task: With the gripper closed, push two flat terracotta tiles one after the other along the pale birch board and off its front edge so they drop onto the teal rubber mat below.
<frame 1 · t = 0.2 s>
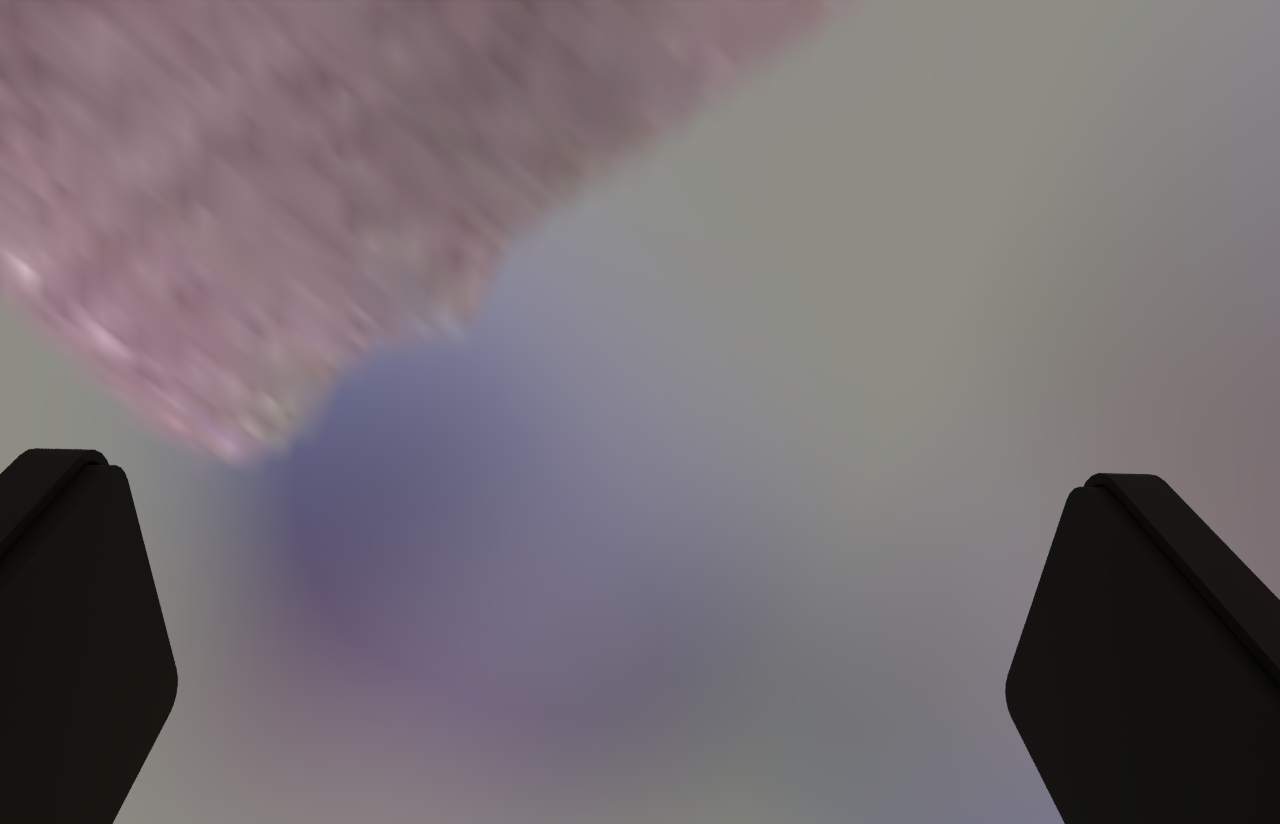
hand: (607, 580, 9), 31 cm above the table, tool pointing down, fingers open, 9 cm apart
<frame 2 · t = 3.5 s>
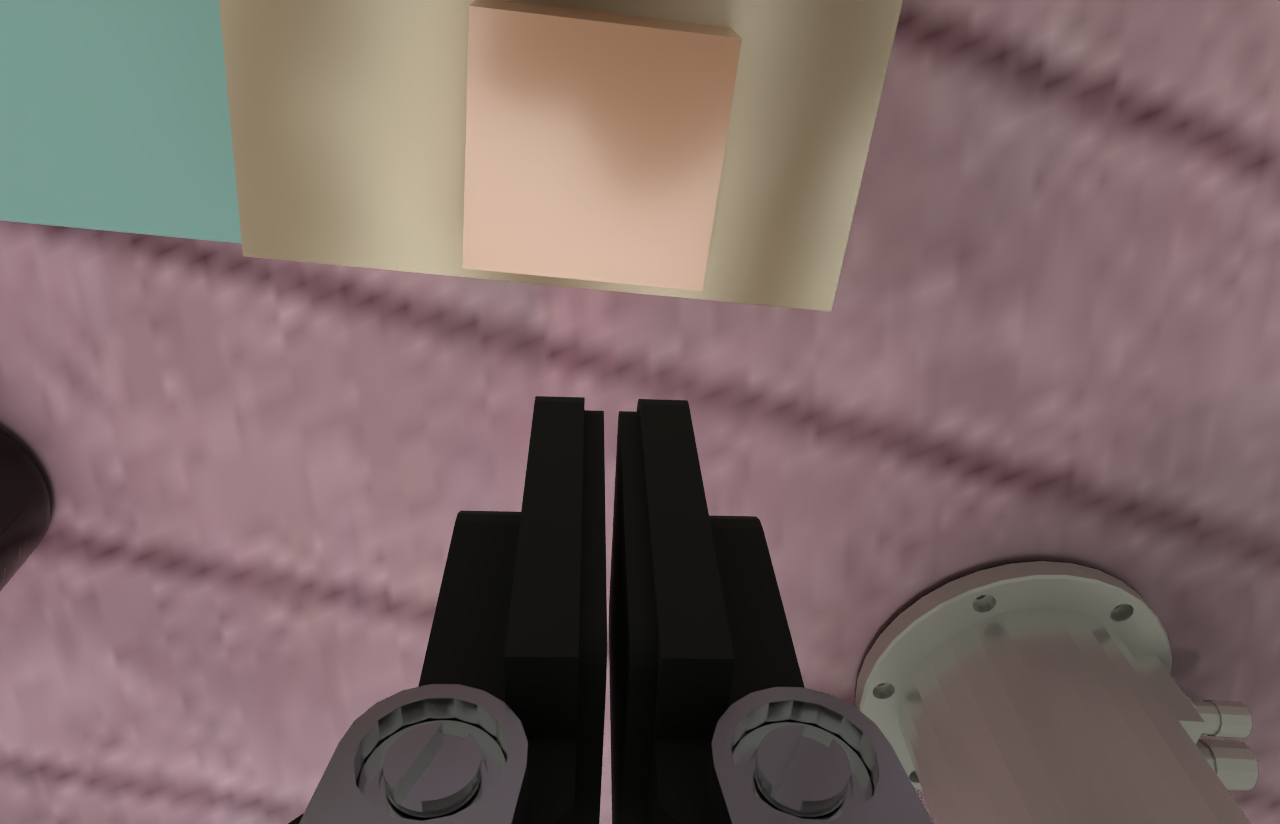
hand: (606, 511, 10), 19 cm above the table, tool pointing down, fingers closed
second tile: (595, 149, 23), point 5 cm above the table, touching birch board
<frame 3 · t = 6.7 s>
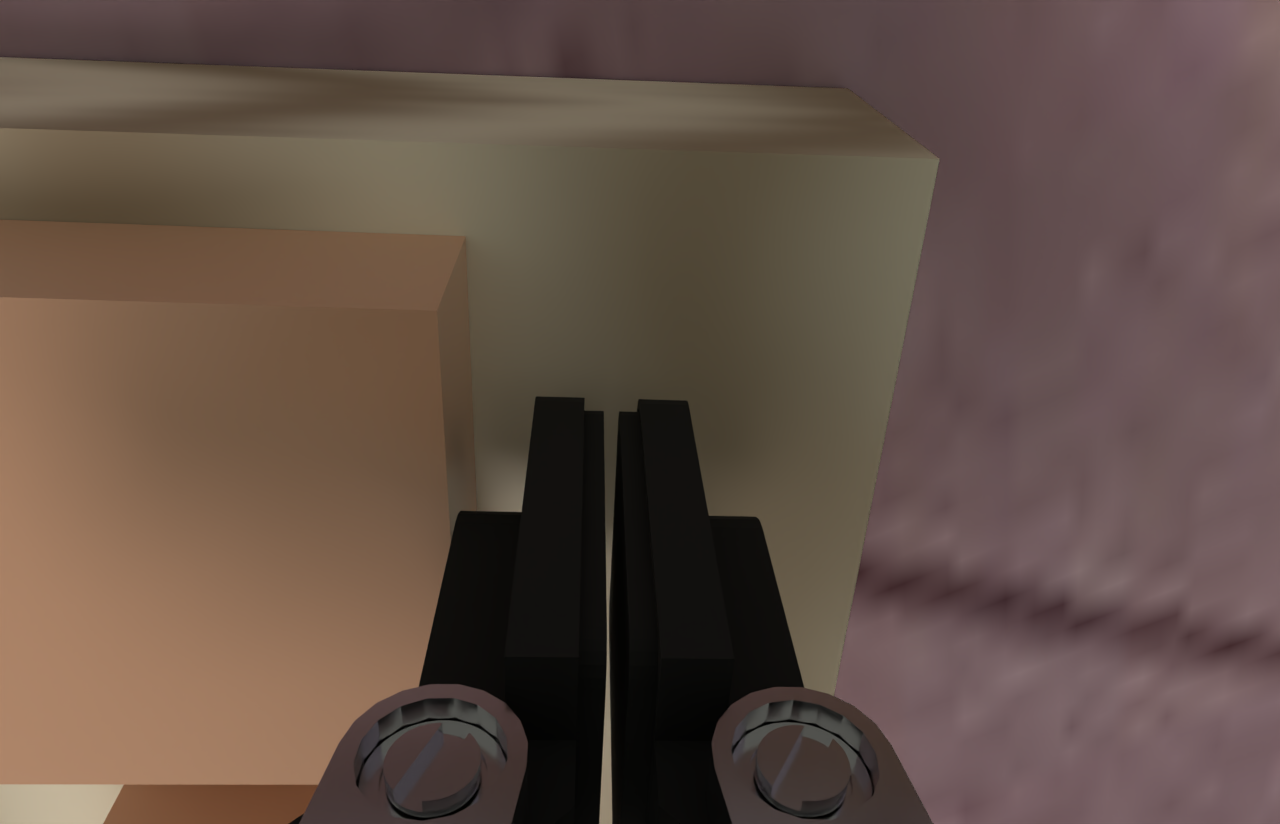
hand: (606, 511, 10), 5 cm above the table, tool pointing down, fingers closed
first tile: (187, 521, 10), point 5 cm above the table, touching gripper
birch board: (335, 542, 16), on the table
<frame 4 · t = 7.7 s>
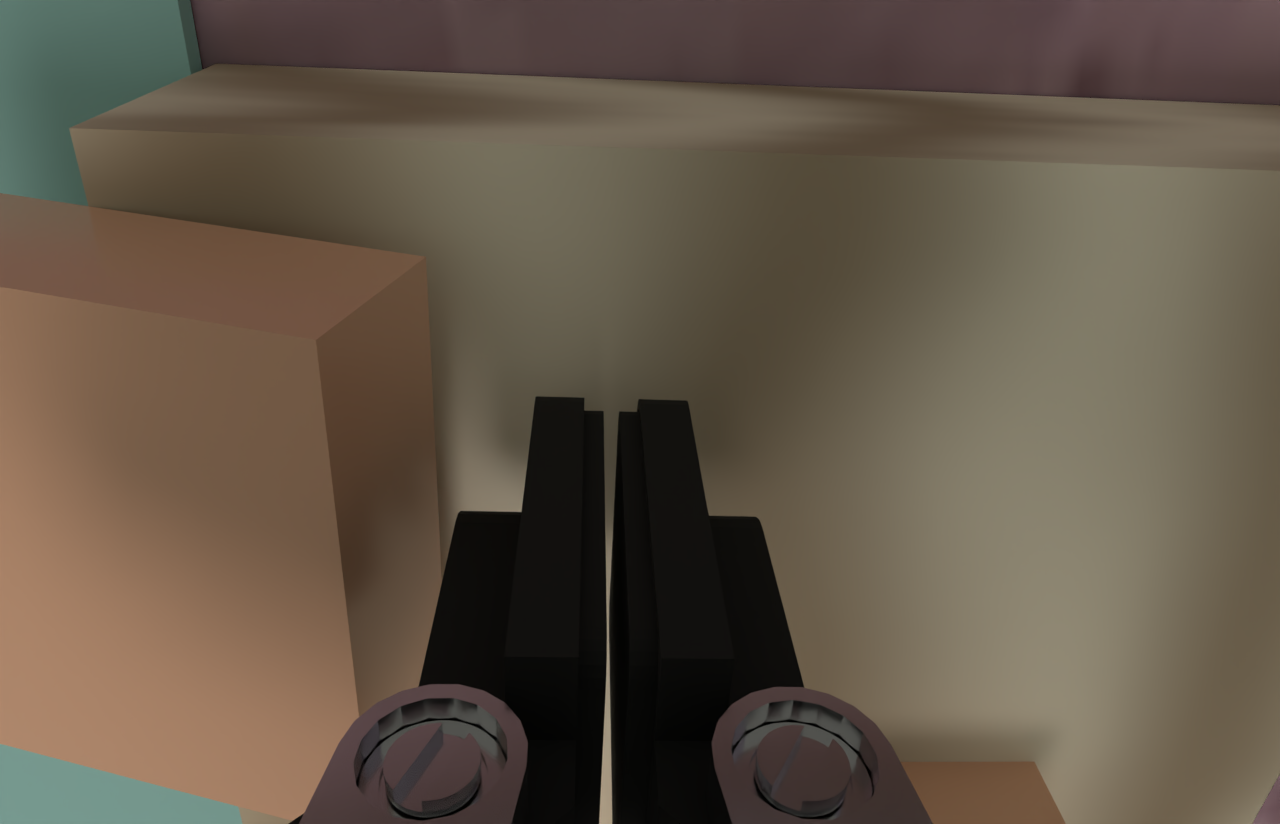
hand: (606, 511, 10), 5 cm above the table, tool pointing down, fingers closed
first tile: (138, 513, 10), point 5 cm above the table, tilted 15°, touching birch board
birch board: (743, 544, 17), on the table
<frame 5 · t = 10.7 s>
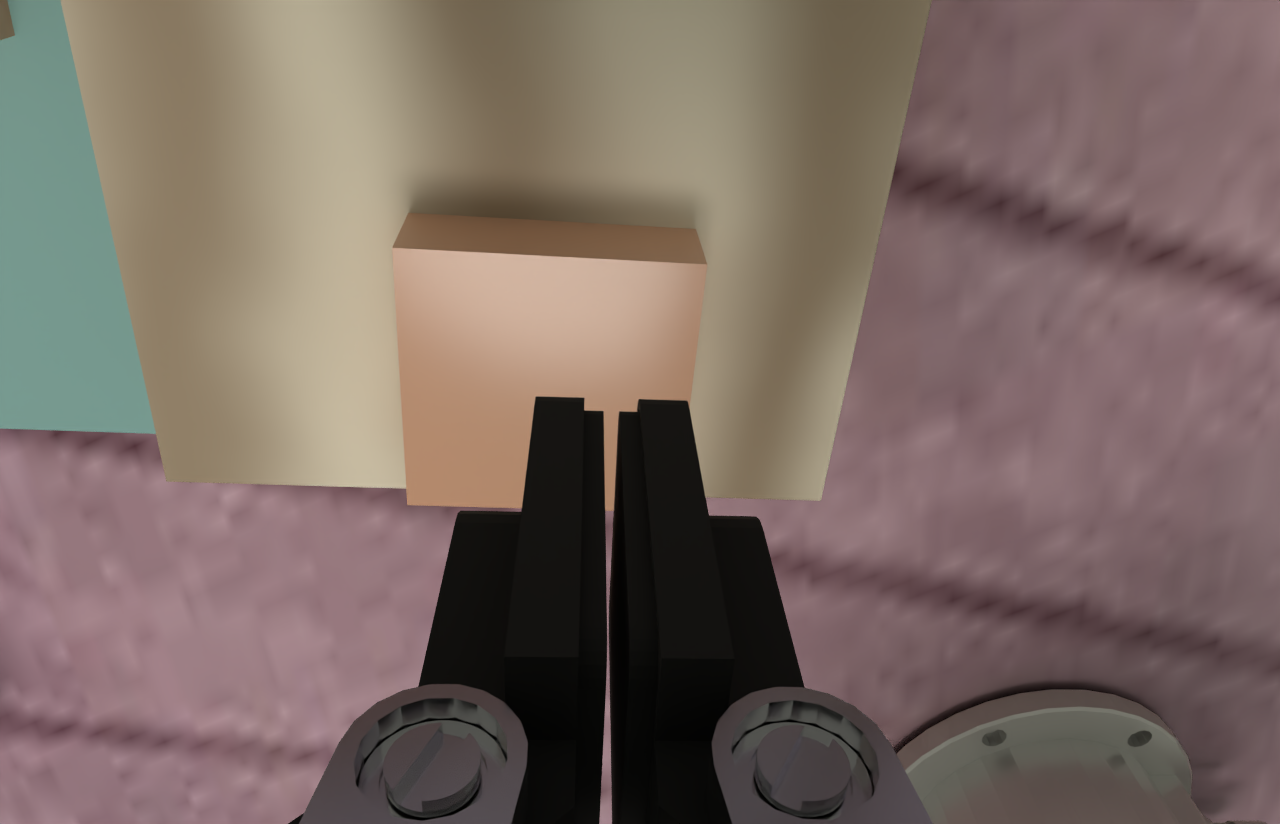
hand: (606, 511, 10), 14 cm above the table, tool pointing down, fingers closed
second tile: (548, 369, 20), point 5 cm above the table, touching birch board
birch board: (516, 122, 22), on the table
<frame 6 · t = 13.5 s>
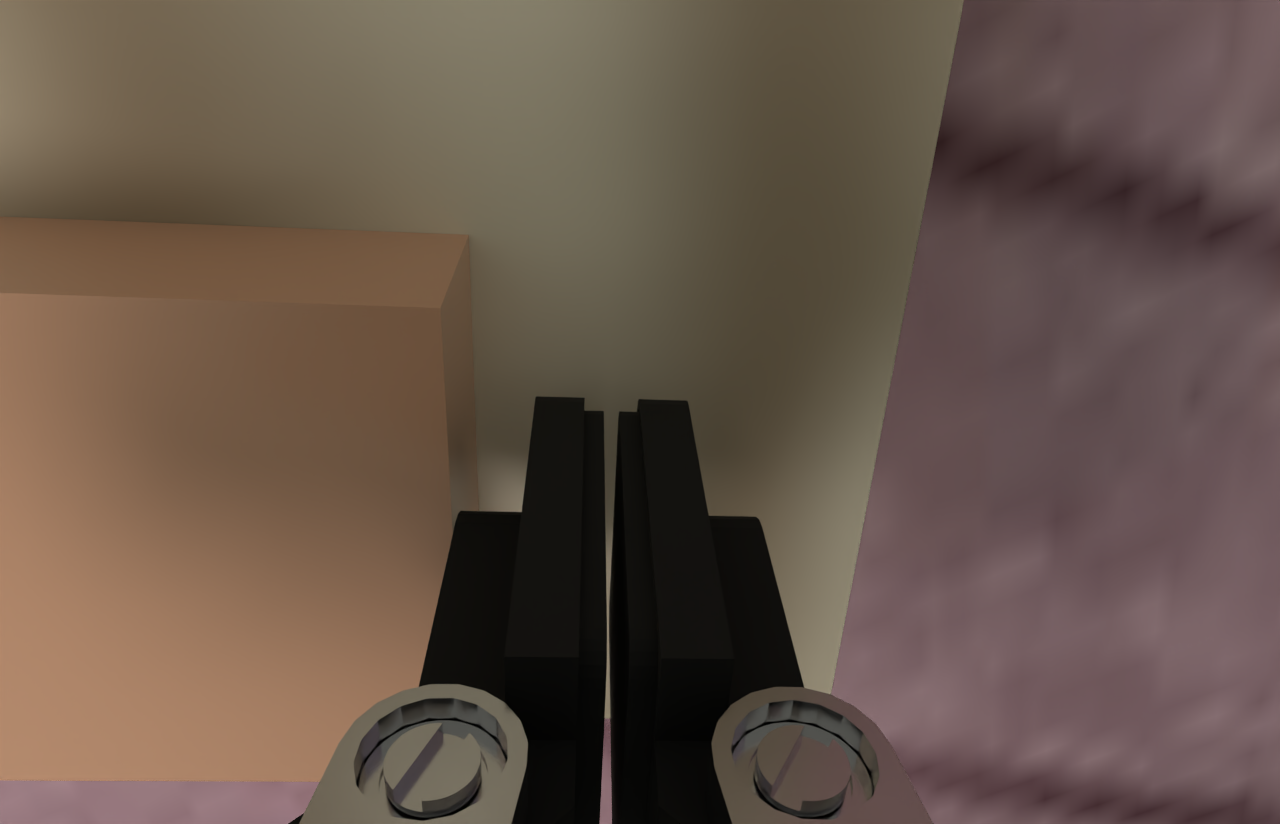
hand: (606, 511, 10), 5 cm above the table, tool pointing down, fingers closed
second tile: (190, 517, 10), point 5 cm above the table, touching gripper
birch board: (265, 72, 13), on the table
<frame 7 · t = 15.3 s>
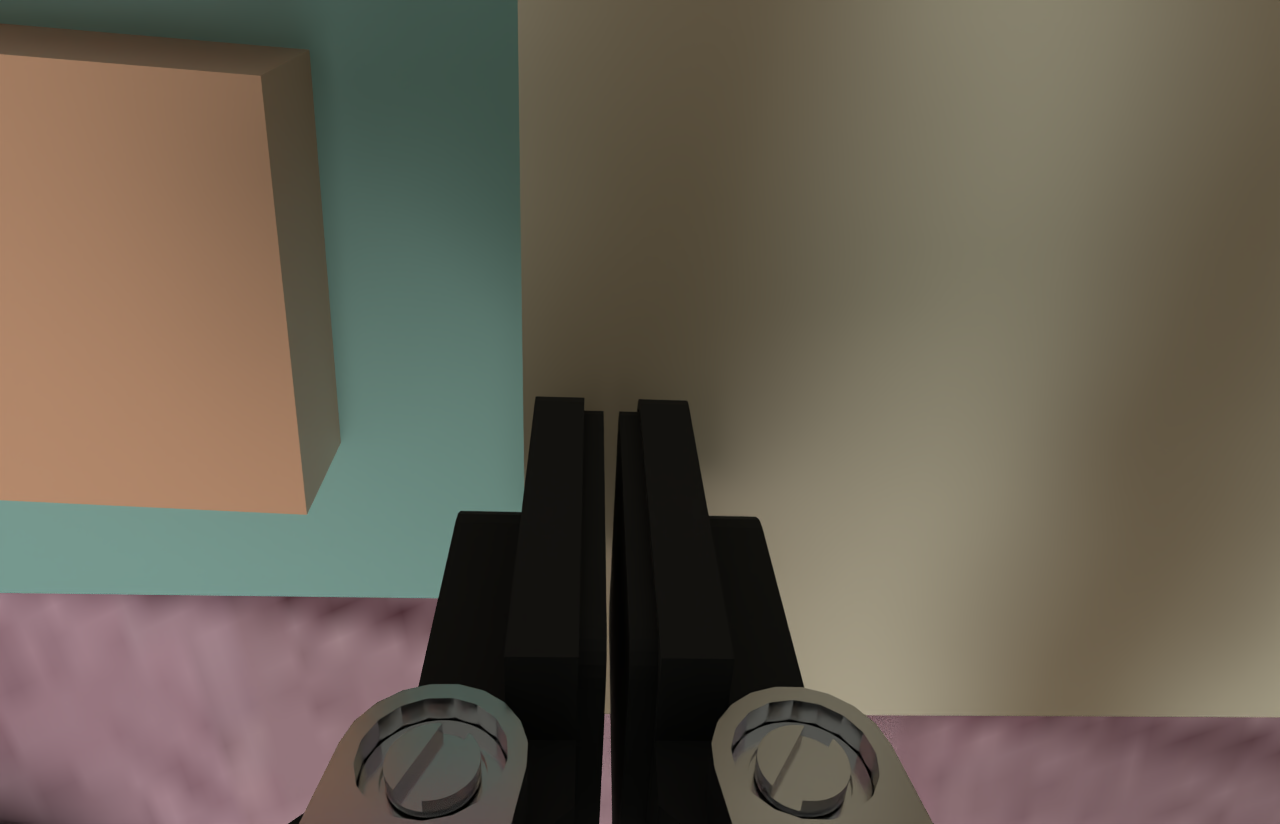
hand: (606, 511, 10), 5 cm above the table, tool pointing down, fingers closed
rubber mat: (4, 48, 12), on the table
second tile: (79, 277, 12), point 1 cm above the table, tilted 180°, touching rubber mat
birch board: (1105, 97, 13), on the table
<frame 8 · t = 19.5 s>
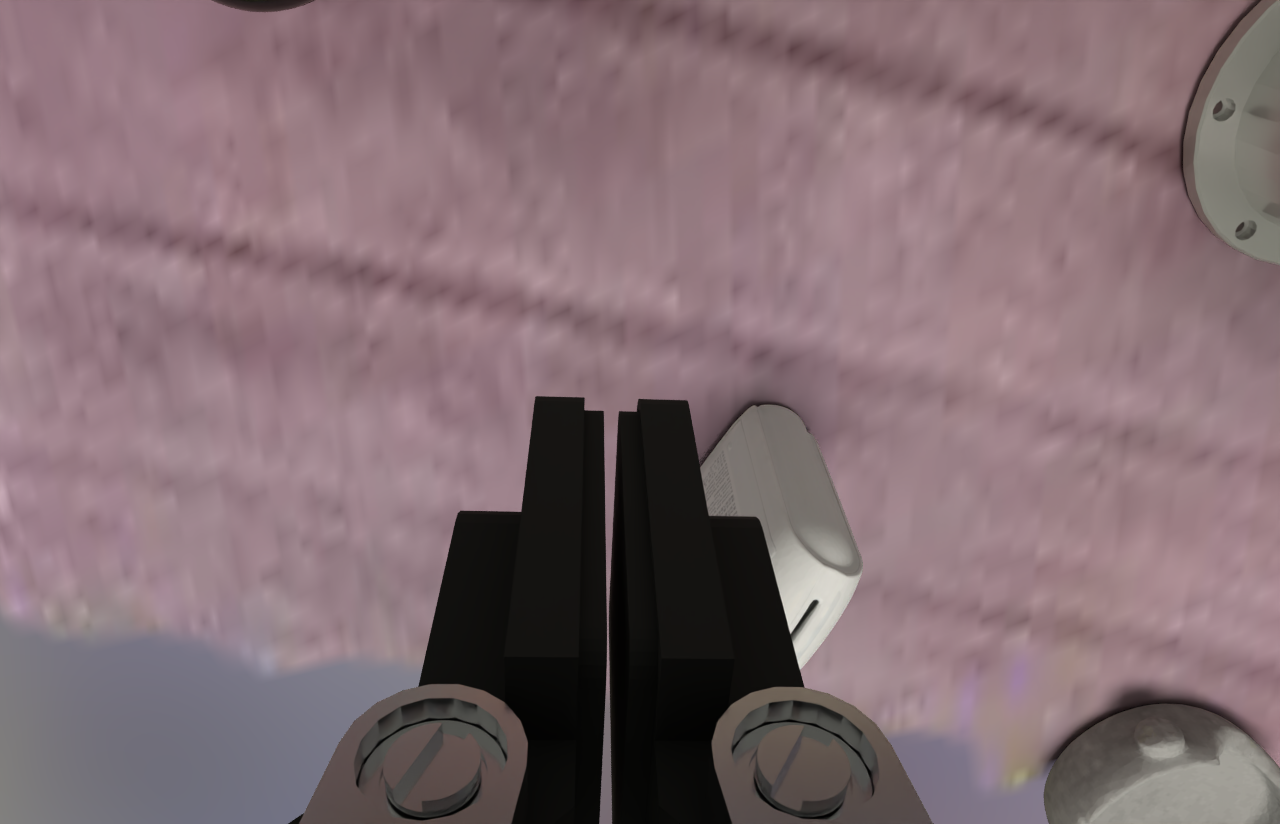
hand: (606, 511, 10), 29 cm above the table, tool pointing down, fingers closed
dish: (1139, 772, 58), on the table
photo printer: (728, 483, 46), on the table
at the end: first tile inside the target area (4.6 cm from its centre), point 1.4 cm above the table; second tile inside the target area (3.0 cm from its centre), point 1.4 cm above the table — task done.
